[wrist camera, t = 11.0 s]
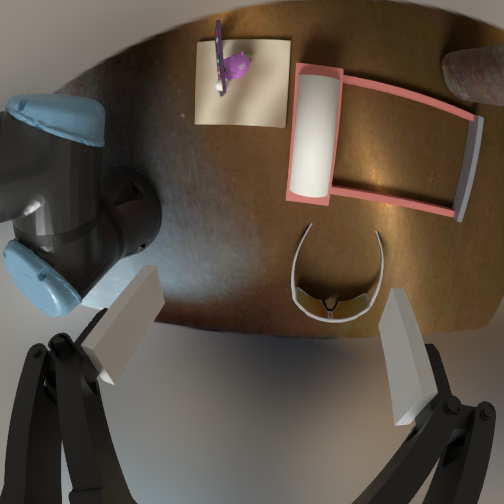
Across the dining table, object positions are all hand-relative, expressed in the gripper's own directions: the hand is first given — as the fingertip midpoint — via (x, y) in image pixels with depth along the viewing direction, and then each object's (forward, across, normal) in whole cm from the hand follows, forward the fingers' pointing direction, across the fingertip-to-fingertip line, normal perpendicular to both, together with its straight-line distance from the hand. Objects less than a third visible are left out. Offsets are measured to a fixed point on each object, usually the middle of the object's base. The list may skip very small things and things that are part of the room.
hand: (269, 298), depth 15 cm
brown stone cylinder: (+25, +24, +19) cm, 39 cm away
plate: (+25, -7, +13) cm, 29 cm away
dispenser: (+25, +13, +6) cm, 29 cm away
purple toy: (+24, -7, +16) cm, 30 cm away
